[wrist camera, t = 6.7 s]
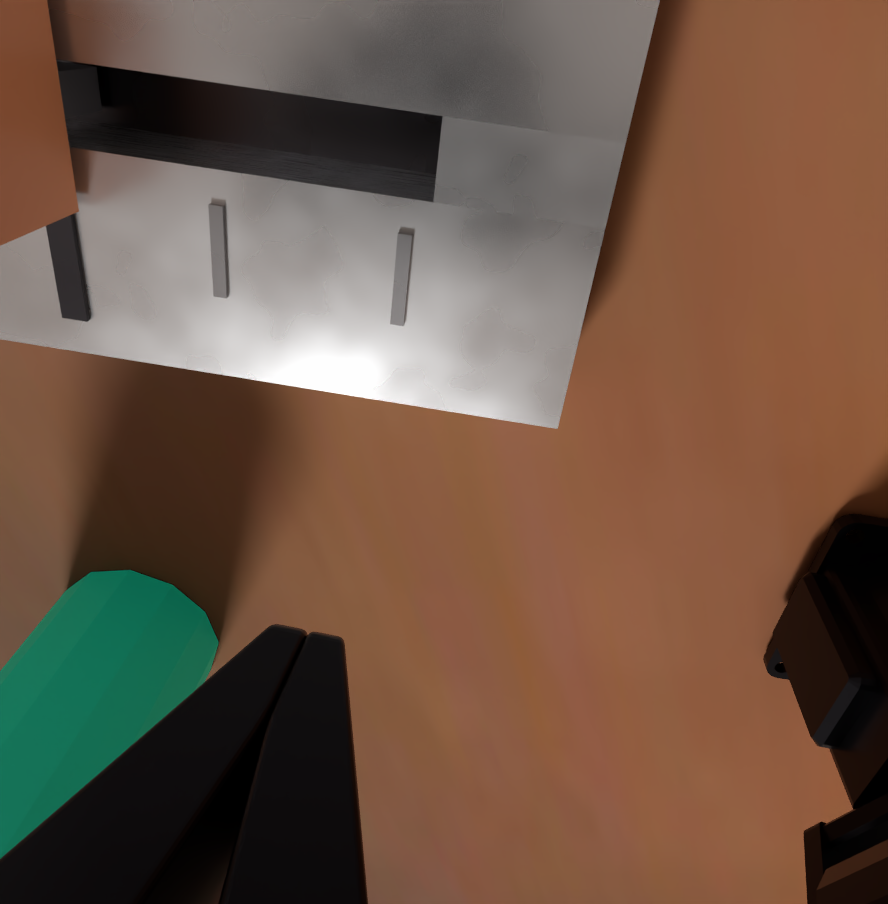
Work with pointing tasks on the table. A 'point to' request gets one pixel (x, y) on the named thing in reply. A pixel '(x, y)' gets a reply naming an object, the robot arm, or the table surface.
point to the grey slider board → (339, 193)
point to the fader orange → (37, 120)
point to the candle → (92, 688)
